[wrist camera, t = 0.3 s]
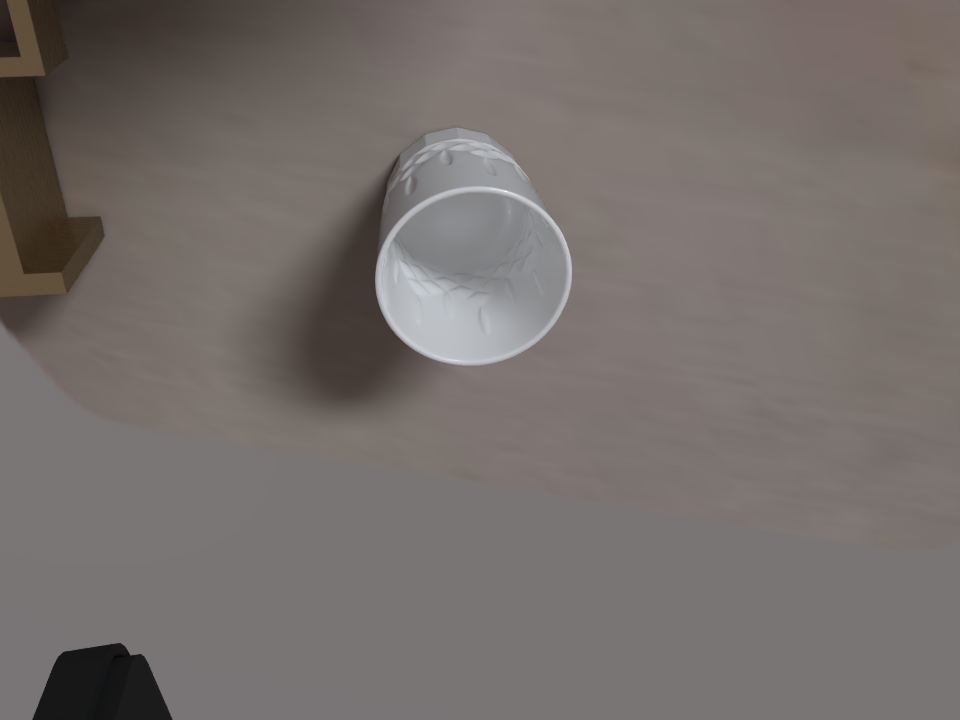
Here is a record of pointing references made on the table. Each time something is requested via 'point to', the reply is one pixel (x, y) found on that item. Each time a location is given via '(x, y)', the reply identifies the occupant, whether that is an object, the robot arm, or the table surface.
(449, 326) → the white cup
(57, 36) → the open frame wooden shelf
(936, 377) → the table surface
